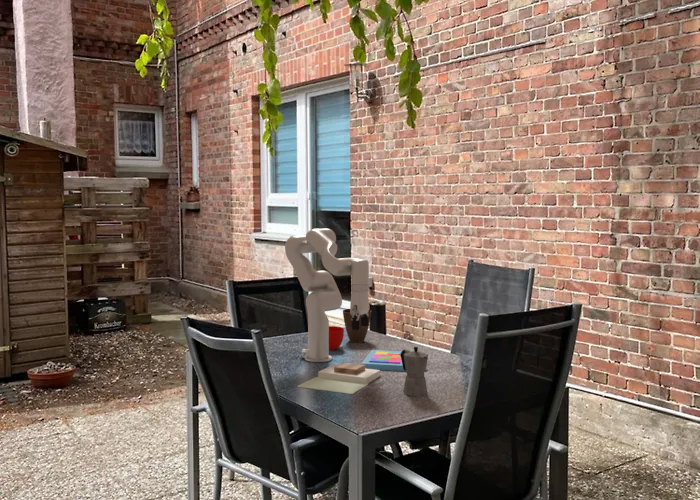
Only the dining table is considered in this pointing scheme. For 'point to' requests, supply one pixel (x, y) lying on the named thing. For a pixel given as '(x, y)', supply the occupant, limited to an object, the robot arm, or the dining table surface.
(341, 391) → the mat
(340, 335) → the ceramic cup
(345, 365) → the tile
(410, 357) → the coffeepot
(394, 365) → the tetris game
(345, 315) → the plant pot
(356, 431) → the dining table surface
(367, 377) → the board
